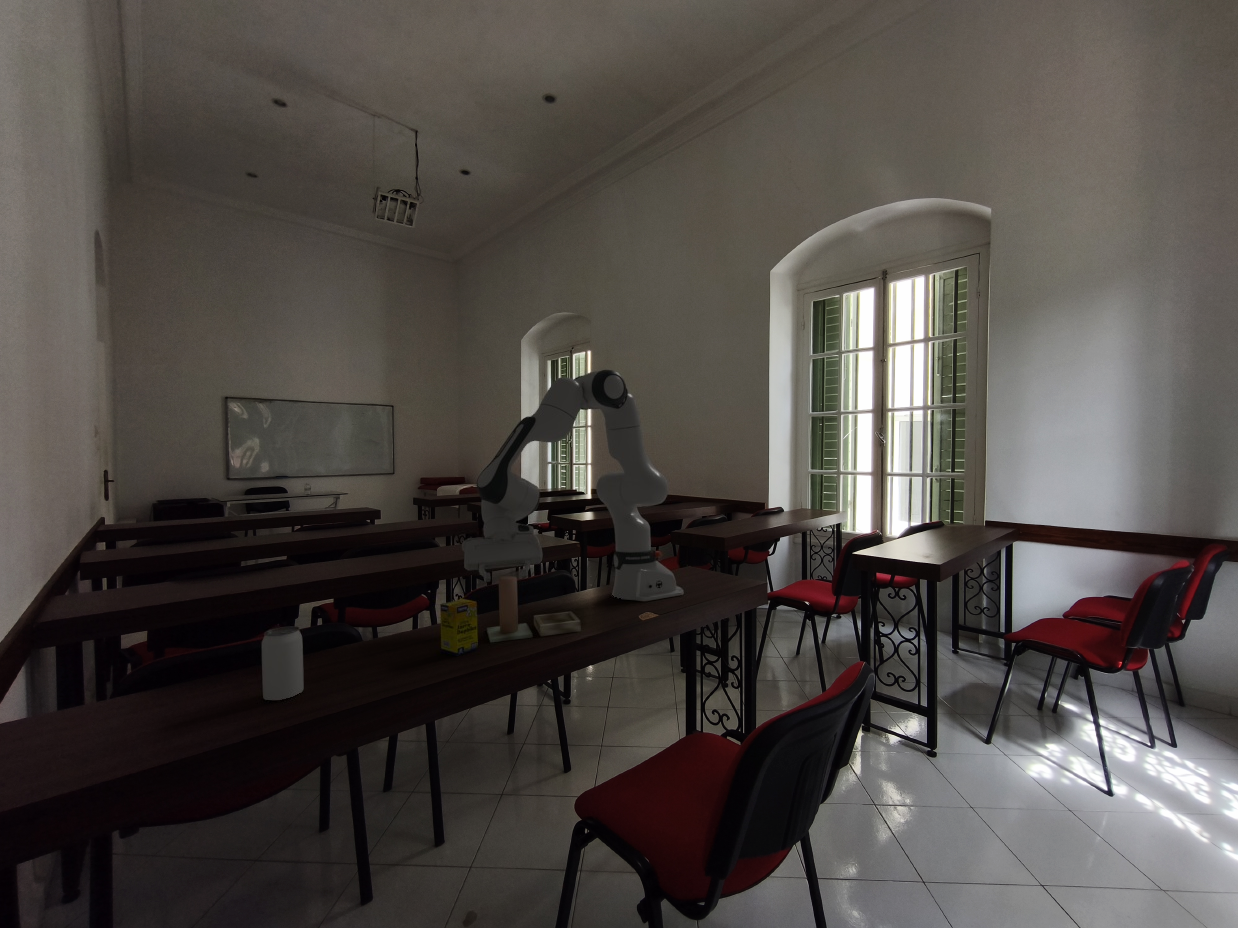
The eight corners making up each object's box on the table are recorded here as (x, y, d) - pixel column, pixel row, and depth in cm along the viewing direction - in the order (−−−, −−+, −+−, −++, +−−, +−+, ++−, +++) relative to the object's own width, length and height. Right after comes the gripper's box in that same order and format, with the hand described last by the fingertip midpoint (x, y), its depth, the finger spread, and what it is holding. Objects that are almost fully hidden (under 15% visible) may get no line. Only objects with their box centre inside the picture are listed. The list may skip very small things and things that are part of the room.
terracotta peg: (516, 627, 139) (515, 575, 139) (519, 632, 135) (517, 579, 135) (499, 629, 137) (497, 577, 137) (501, 634, 133) (499, 580, 133)
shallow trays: (571, 620, 146) (571, 611, 146) (580, 631, 137) (580, 621, 137) (486, 630, 139) (486, 620, 139) (490, 642, 130) (490, 631, 130)
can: (282, 687, 106) (280, 625, 106) (311, 688, 105) (310, 625, 105) (254, 701, 100) (252, 635, 100) (285, 703, 99) (283, 636, 99)
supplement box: (457, 656, 121) (455, 607, 121) (440, 651, 124) (439, 603, 124) (478, 649, 125) (477, 601, 125) (462, 644, 129) (461, 598, 129)
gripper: (461, 531, 144) (464, 575, 135) (538, 526, 151) (546, 567, 141) (461, 546, 148) (464, 590, 139) (536, 540, 155) (544, 581, 146)
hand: (506, 578), depth 140 cm, fingers open, 8 cm apart
